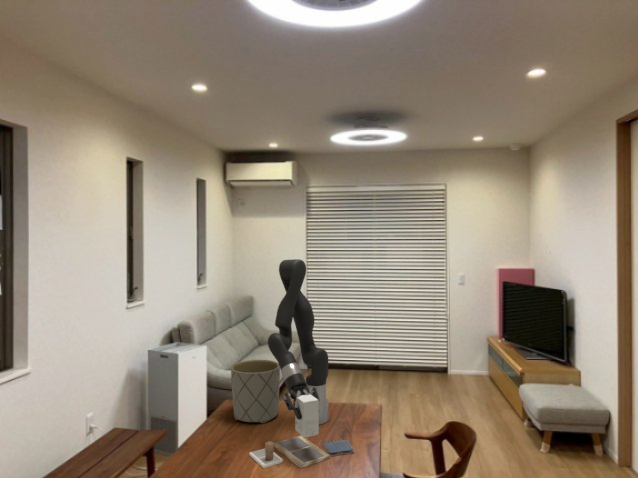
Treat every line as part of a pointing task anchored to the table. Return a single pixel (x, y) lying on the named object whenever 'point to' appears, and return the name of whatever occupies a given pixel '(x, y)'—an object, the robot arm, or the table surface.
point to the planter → (255, 390)
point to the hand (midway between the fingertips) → (308, 416)
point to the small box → (308, 416)
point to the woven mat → (338, 447)
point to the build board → (301, 451)
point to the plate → (266, 456)
